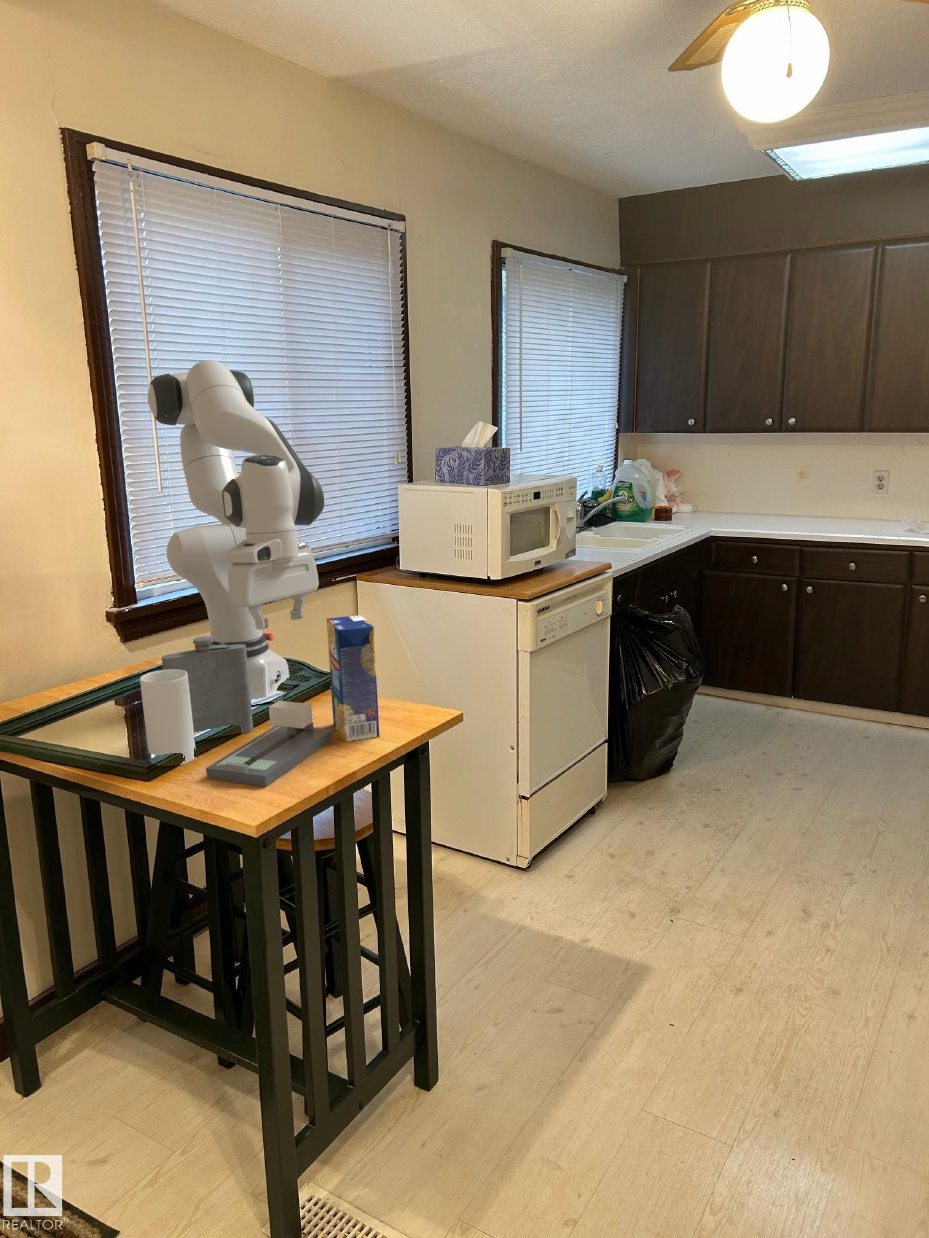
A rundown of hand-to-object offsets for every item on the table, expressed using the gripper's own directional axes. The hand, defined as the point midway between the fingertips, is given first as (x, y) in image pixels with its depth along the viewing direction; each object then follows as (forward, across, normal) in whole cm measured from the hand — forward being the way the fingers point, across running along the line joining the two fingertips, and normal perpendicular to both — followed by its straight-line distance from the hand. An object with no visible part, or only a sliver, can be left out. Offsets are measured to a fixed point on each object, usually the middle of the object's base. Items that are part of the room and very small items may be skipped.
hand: (280, 623), depth 162 cm
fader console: (+24, +3, -2) cm, 25 cm away
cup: (+24, +12, -19) cm, 33 cm away
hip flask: (+24, 0, -21) cm, 31 cm away
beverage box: (+24, -15, +3) cm, 29 cm away
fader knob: (+22, -3, -3) cm, 22 cm away
